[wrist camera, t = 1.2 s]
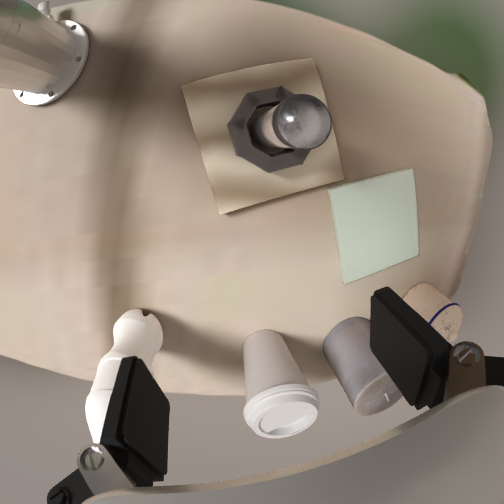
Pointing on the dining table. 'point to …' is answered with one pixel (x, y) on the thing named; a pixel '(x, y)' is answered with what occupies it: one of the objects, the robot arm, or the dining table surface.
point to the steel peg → (293, 124)
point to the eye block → (241, 142)
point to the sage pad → (375, 223)
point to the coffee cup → (275, 388)
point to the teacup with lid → (436, 309)
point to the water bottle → (125, 345)
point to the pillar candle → (359, 367)
